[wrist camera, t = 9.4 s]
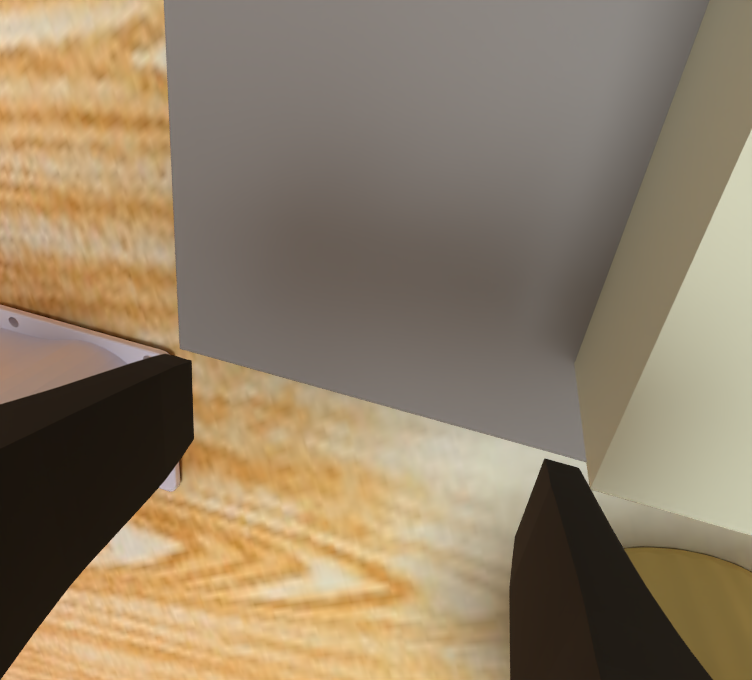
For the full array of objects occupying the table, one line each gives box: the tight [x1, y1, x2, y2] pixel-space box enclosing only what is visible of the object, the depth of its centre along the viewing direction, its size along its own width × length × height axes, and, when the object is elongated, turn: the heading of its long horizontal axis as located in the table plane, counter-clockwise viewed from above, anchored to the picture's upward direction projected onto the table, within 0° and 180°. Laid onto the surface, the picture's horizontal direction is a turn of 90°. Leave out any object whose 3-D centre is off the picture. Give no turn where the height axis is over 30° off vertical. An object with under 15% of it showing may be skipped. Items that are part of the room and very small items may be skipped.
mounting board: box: [164, 0, 710, 462], centre depth 15 cm, size 22×18×1 cm
